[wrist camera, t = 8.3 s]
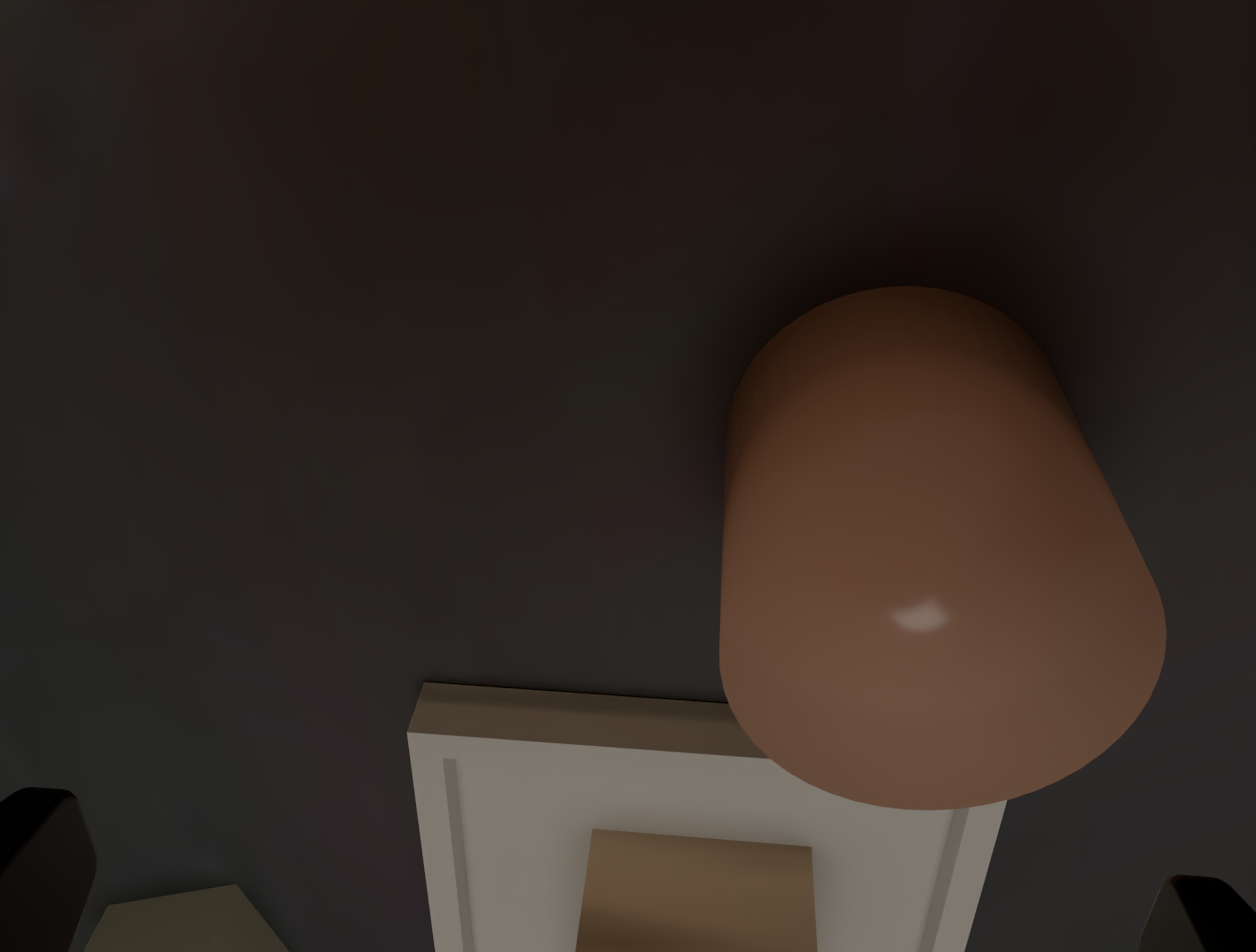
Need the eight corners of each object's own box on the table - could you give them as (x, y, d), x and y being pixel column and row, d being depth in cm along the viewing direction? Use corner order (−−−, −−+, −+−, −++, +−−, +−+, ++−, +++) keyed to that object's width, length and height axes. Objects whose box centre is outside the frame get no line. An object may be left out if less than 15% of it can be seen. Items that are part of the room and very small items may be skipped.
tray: (1000, 723, 24) (1013, 776, 23) (912, 1052, 31) (919, 1107, 30) (423, 681, 25) (406, 732, 24) (461, 1012, 32) (449, 1064, 31)
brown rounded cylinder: (1098, 294, 19) (1224, 496, 14) (1025, 578, 22) (1106, 825, 17) (736, 277, 19) (732, 468, 14) (716, 559, 23) (708, 794, 18)
